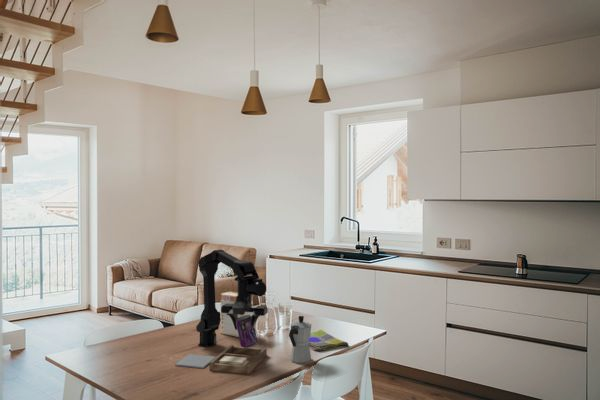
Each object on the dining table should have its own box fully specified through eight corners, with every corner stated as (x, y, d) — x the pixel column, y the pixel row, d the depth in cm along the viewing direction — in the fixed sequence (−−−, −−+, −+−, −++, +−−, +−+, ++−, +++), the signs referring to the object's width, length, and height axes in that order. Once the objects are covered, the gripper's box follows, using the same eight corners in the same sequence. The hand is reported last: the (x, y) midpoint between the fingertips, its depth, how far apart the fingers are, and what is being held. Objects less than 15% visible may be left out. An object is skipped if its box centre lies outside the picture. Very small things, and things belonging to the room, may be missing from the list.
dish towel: (323, 333, 234) (323, 328, 234) (350, 348, 212) (350, 341, 212) (291, 338, 226) (291, 332, 226) (316, 353, 204) (316, 347, 204)
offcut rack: (209, 370, 182) (209, 362, 182) (230, 351, 203) (230, 344, 203) (248, 374, 178) (249, 366, 178) (266, 355, 200) (266, 348, 200)
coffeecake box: (253, 335, 228) (253, 294, 228) (243, 338, 222) (244, 297, 222) (229, 330, 236) (229, 291, 236) (219, 333, 230) (220, 293, 230)
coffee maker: (299, 353, 202) (299, 311, 202) (317, 357, 197) (318, 314, 197) (280, 364, 189) (280, 319, 189) (299, 368, 185) (299, 322, 184)
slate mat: (175, 365, 186) (175, 364, 186) (189, 355, 198) (189, 354, 198) (203, 368, 184) (203, 366, 184) (215, 358, 195) (215, 356, 195)
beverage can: (251, 348, 190) (244, 319, 191) (238, 349, 194) (231, 320, 195) (261, 342, 196) (255, 314, 197) (248, 343, 200) (242, 315, 201)
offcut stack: (217, 369, 183) (218, 360, 183) (223, 364, 189) (223, 355, 189) (244, 372, 181) (245, 362, 181) (249, 366, 187) (250, 357, 187)
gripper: (215, 295, 190) (215, 334, 190) (259, 298, 186) (259, 337, 186) (226, 289, 201) (225, 326, 201) (268, 292, 196) (268, 329, 197)
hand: (244, 330), depth 196 cm, fingers closed on beverage can, 6 cm apart
